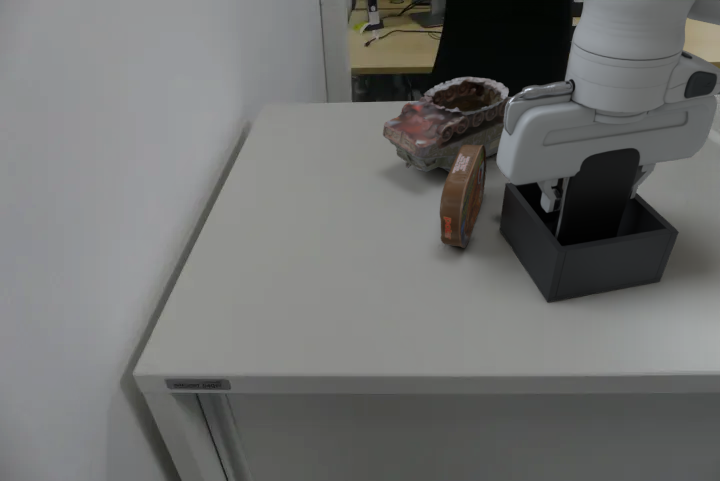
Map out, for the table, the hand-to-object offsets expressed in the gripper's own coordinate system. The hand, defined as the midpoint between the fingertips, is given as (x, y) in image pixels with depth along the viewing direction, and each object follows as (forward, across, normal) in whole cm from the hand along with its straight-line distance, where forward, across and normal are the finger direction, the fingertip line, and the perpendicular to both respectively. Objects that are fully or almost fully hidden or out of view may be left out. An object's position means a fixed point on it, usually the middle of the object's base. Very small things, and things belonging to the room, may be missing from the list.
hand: (587, 202), depth 58 cm
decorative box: (+7, -6, +22) cm, 24 cm away
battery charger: (+4, 0, 0) cm, 4 cm away
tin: (+7, -10, +9) cm, 15 cm away
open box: (+7, 0, 0) cm, 7 cm away
